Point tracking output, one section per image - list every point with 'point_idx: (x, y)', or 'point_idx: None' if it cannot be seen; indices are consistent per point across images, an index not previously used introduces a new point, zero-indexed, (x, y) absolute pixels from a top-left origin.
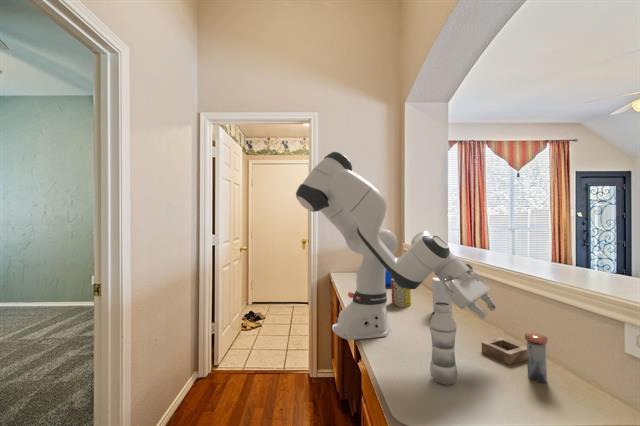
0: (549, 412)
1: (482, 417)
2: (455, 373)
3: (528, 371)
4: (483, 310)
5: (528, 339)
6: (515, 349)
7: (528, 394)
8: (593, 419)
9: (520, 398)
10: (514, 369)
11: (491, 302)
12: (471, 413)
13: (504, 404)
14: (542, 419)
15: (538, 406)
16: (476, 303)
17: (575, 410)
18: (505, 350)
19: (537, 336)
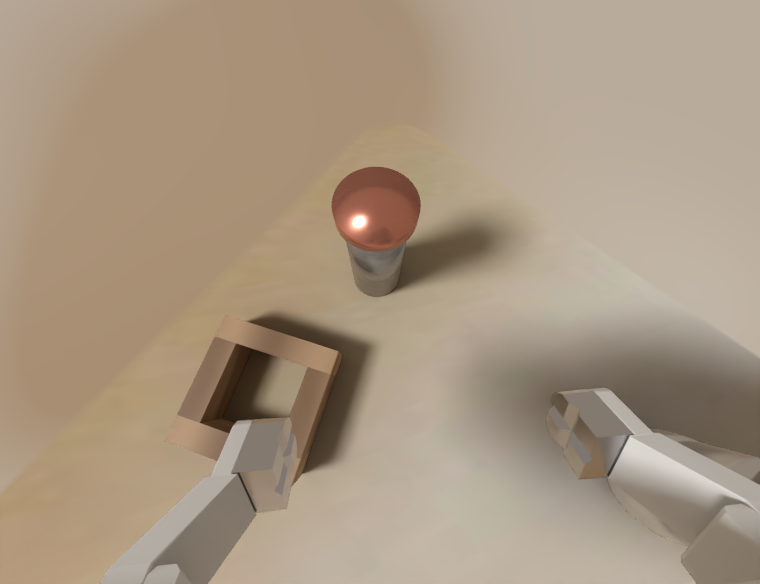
0: (521, 222)
1: (679, 314)
2: (665, 431)
3: (391, 285)
4: (612, 425)
5: (414, 227)
6: (273, 349)
7: (483, 270)
8: (472, 166)
9: (519, 278)
10: (365, 335)
11: (237, 484)
12: (691, 337)
13: (581, 296)
14: (561, 226)
15: (517, 242)
16: (742, 526)
17: (465, 191)
18: (311, 374)
19: (372, 199)
